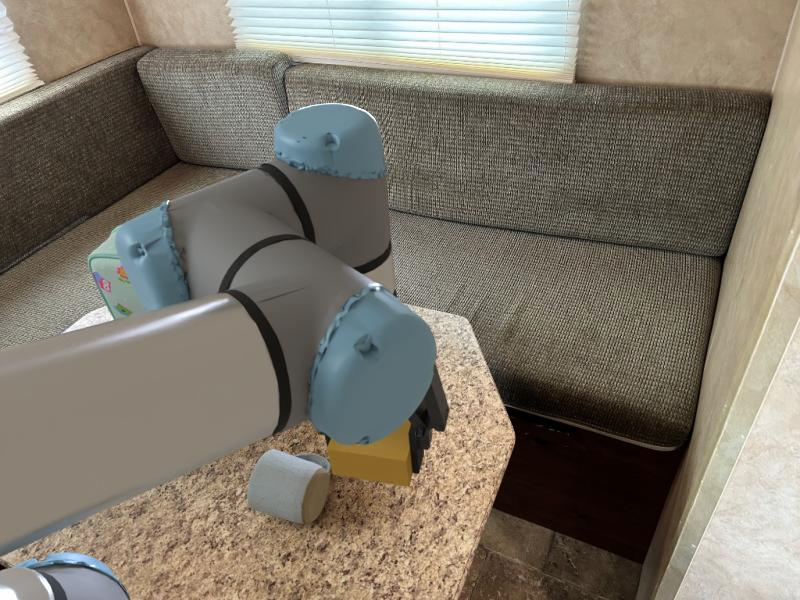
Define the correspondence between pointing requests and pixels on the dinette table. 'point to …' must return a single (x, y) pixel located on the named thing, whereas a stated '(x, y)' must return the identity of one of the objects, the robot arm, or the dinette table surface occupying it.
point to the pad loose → (375, 459)
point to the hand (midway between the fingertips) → (377, 456)
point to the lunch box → (113, 280)
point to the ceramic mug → (289, 485)
